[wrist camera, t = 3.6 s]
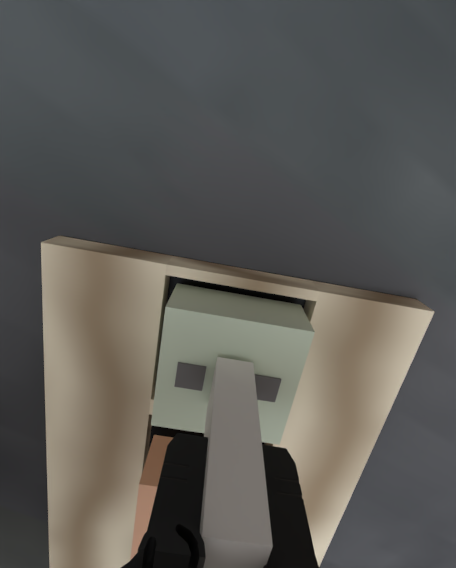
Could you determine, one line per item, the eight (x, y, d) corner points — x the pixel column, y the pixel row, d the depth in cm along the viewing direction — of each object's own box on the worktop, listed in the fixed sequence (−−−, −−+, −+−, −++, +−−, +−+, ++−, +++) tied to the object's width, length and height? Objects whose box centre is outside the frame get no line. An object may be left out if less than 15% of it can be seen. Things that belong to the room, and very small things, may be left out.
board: (60, 551, 23) (49, 576, 22) (59, 235, 15) (40, 242, 13) (296, 581, 24) (300, 607, 22) (416, 299, 16) (434, 311, 14)
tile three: (163, 386, 17) (150, 426, 14) (177, 283, 15) (164, 307, 12) (272, 403, 17) (280, 446, 14) (300, 304, 15) (315, 333, 12)
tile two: (143, 512, 18) (128, 570, 15) (153, 434, 16) (138, 486, 13) (244, 526, 18) (246, 585, 16) (267, 451, 16) (273, 505, 14)
